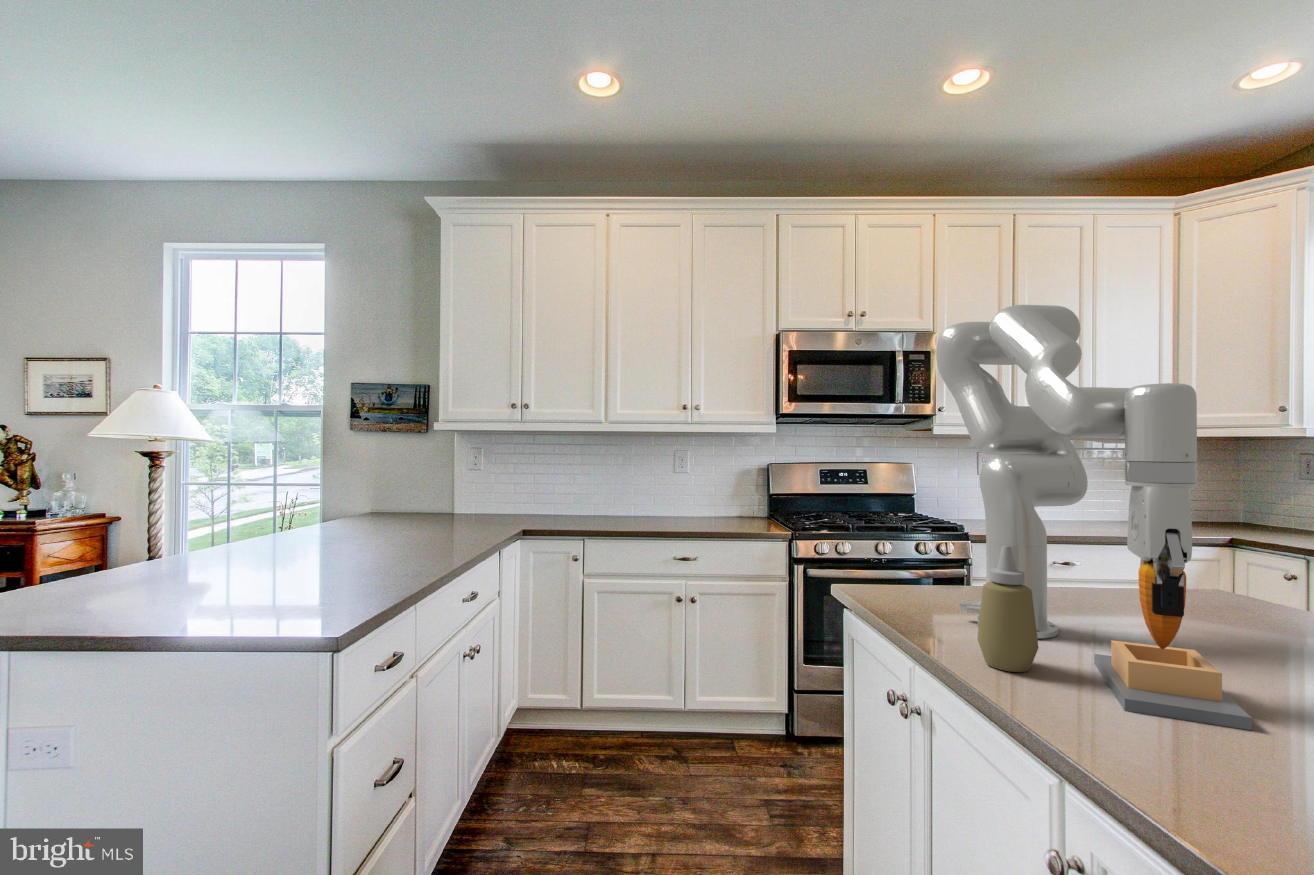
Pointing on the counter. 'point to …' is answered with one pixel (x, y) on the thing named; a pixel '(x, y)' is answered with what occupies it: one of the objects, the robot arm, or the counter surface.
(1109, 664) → the socket block
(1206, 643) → the counter surface
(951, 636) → the counter surface
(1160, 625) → the carrot
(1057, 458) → the robot arm
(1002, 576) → the squeeze bottle
